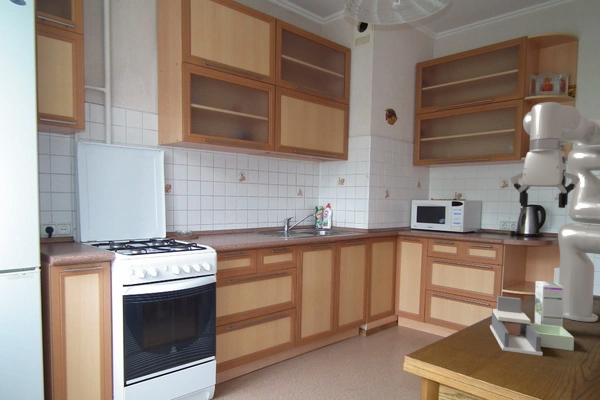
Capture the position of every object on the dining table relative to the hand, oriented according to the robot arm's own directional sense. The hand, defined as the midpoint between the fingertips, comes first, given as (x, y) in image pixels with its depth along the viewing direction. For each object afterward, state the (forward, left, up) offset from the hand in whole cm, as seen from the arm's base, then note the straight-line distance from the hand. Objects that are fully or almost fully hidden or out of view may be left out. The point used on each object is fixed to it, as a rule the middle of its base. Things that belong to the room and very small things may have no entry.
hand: (542, 206), depth 109 cm
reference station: (+6, -7, -37) cm, 39 cm away
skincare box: (-54, +24, -38) cm, 70 cm away
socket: (+4, +2, -37) cm, 38 cm away
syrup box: (-6, +4, -38) cm, 38 cm away
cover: (+2, -7, -32) cm, 33 cm away
